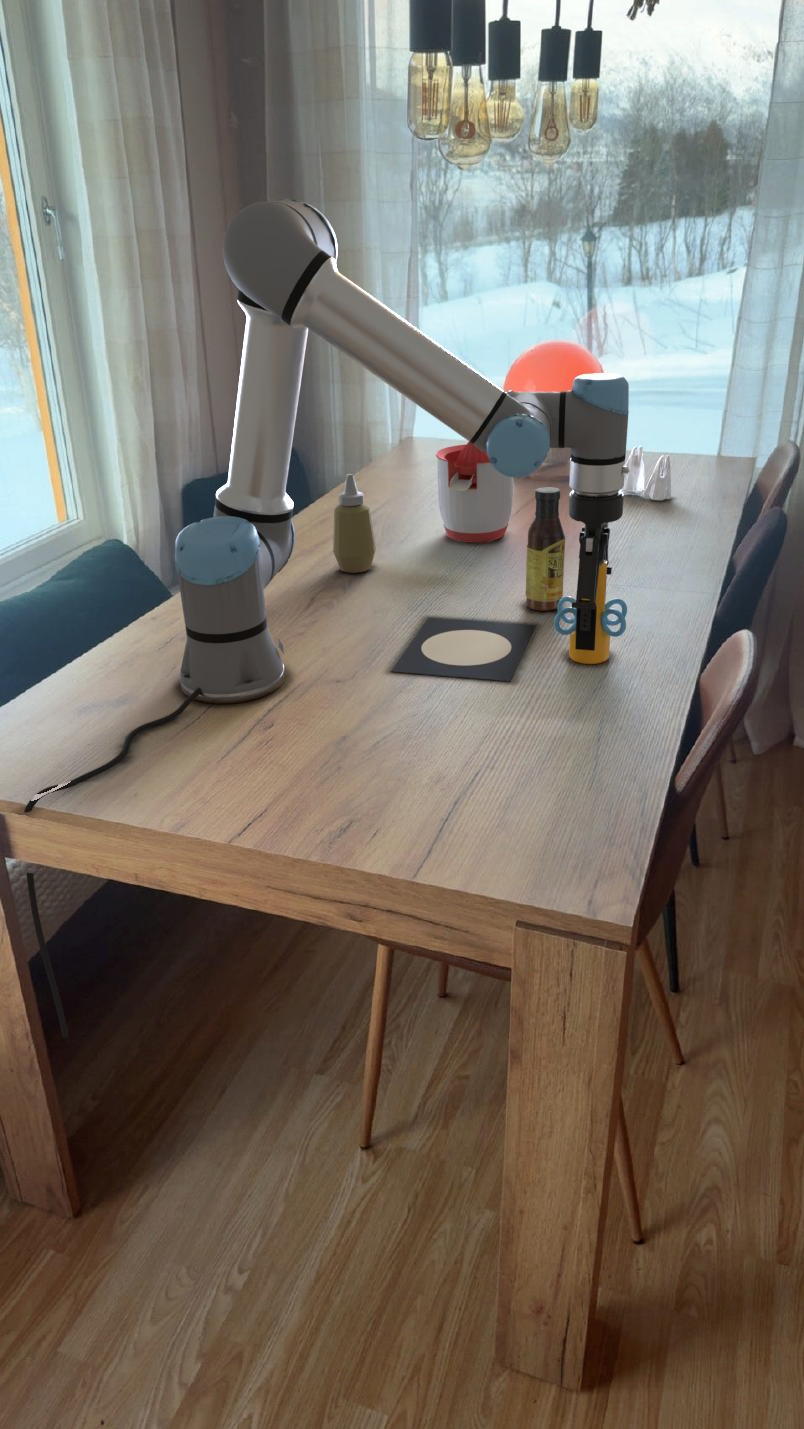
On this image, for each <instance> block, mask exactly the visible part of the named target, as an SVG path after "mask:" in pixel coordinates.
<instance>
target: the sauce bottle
mask: <svg viewBox="0 0 804 1429" xmlns="http://www.w3.org/2000/svg"><path fill="white" fill-rule="evenodd" d="M534 491H535V492H534V495H535V496H534V498H535V512H534V514H535V518H534V519H533V521H532V522H531V523H530V526H529V527H528V531H527V544H526V566H525V570H526V571H525V597H526V600H525V604H526V606H527V607H528V608H529V609H531V610H535V611H539V612H545V611H546V612H547V611H553V610H556V609H557V606H558V602H559V601H560V599H561V598H563V597H564V578H565V576H564V574H565V552H566V550H565V549H566V536H565V532H564V530H563V525H562V522H561V520H560V517H559V516H560V513H559V512H560V510H559V508H560V500H561V490H560V489H559V488H557V487H553V486H548V487H547V486H545V487H544V486H543V487H538V488H536V489H535V490H534Z"/></svg>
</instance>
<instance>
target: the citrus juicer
mask: <svg viewBox="0 0 804 1429" xmlns="http://www.w3.org/2000/svg"><path fill="white" fill-rule="evenodd" d="M435 456H436V458H437V460H436V461H437V465H436V466H437V495H438V496H437V497H438V508H439V513H440V517H441V520H442V523H443V527H444V530H445V533H446V534H447V537H448V538H449V539H451V540H453V541H457V542H464V543H482V544H487V543H490V542H491V541H495V540H499V539H501V538H502V537H503V536H504V535H505V534H506V531H507V529H508V527H509V522H510V518H511V515H512V509H513V504H514V478H513V477H508V476H505V475H503V474H501V473H500V472H498V471H497V470H496V469H495V468H494V467H493V465H492V464H491V462H490V460H489V458H488V456H487V454H486V453H484V452H483V451H481V450H480V449H479V448H477V447H476V446H475V445H473V444H472V443H471V442H469V441H468V442H467V443H466V444H458V445H451V446H447V447H444V448H442V449H439V450H438V451H437V452H436V454H435Z"/></svg>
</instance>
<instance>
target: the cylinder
mask: <svg viewBox="0 0 804 1429" xmlns="http://www.w3.org/2000/svg"><path fill="white" fill-rule="evenodd" d="M607 567H608V566H607V561H606V560H604V562H603V563H602V564H600V567H599V576H598V585H597V594H596V606H597V613H596V634H595V650H594V651H593V650H579V649H575V645H576V618H577V608H572V606H568V607H563V606H564V604H565V603H570V604H572V602H574V603H575V602H576V598H574V597H572V596H569V595H568V596H567V595H565V596H563V597H562V598H561V599H560V601H559V602H558V606H557V610H556V611H557V613H556V615H555V617H554V620H553V627H554V629H555V631H556V632H557V633H558V634H560V635H561V636H569V637H568V638H569V639H568V640H569V642H568V656H569V658H570V659H571V660H572V661H574V662H576V663H579V664H584V665H585V664H586V665H595V664H601V663H604V662H606V661H607V660H608V659H609V657H610V645H611V644H610V643H611V637H612V638H613V637H614V638H618V637H621V636H622V635H623V634H624V633H625V631H626V628H627V620H626V617H627V614H628V606H627V603H626V602H625V601H624V600H623V599H621V598H612V599H610V600H608V601H607V602H606V600H605V594H606V595H607V580H606V576H607ZM582 600H589V599H582ZM614 605H619V606H620V607H621V611H620V610H618V609H616V608H611V607H612V606H614ZM568 613H569V614H572V615H573V616H574V617H572V618H569V617H567V615H566V614H568ZM609 615H614V616H615V617H617V618H616V619H613V620H611V619H609V618H608V616H609ZM561 620H562V621H563V622H564V623H565V624H569V625H571V624H572V626H571V627H569V628H567V629H564V628H562V627H561V626H560V621H561ZM618 625H620V627H619V629H618V630H617V631H616V630H615V631H614V630H612V629H610V627H609V626H611V627H614V626H618Z"/></svg>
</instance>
